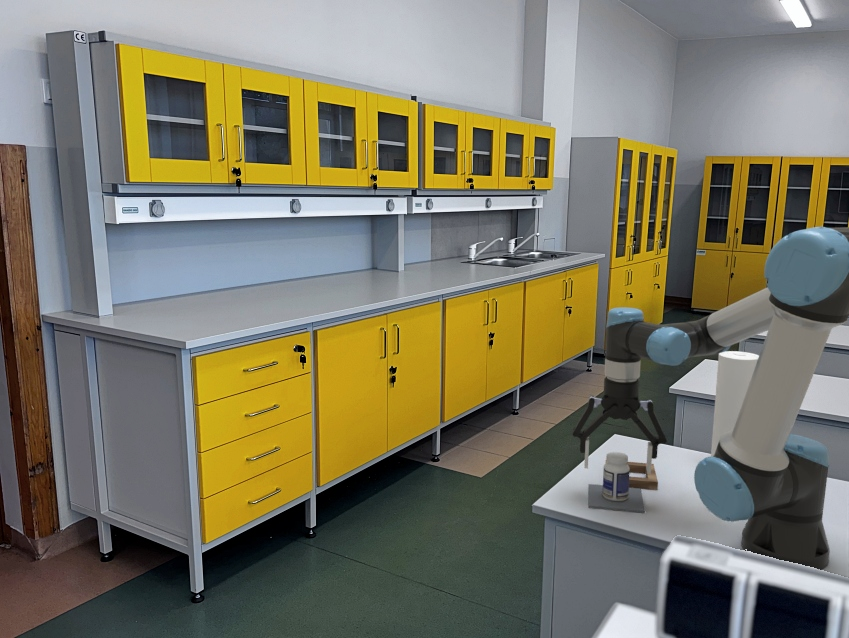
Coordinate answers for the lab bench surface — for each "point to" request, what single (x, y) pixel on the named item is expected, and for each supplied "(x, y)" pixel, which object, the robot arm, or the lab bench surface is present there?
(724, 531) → the lab bench surface
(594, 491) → the rubber mat
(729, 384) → the cylinder container
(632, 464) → the wooden square frame
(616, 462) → the pill bottle
